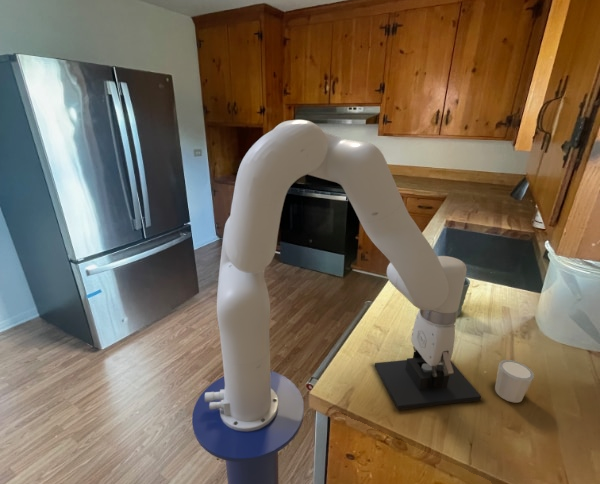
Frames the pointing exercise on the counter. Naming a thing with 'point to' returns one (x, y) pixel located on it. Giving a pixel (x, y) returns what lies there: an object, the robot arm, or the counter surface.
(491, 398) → the counter surface
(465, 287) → the grey green embossed cup
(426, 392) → the base pad
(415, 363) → the black square frame
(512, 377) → the white short cylinder
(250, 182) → the robot arm
